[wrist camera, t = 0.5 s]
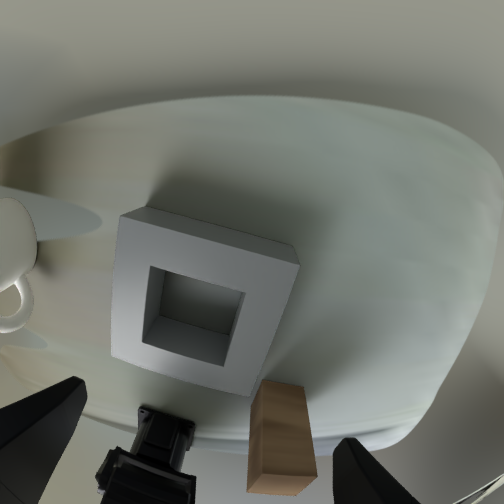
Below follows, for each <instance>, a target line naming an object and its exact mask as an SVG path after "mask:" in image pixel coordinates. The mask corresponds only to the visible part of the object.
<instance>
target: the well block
mask: <svg viewBox="0 0 504 504" xmlns="http://www.w3.org/2000/svg"><path fill="white" fill-rule="evenodd" d="M299 268H300V263H299V261H298V258H297V256H296V253H295V251H294V248H293V246H290V245H287V244H283V243H280V242H276V241H273V240H269V239H265V238H262V237H258V236H255V235H251V234H247V233H244V232H240V231H237V230H233V229H229V228H226V227H222V226H218V225H215V224H211V223H207V222H203V221H200V220H196V219H192V218H188V217H185V216H181V215H177V214H173V213H169V212H166V211H162V210H158V209H154V208H150V207H146V206H144V207H141V208H139V209H136V210H133V211H131V212H128V213H126V214H123V215H120V218H119V225H118V232H117V240H116V249H115V259H114V271H113V285H112V305H111V356H113V357H116V358H118V359H121V360H123V361H126V362H129V363H131V364H134V365H137V366H139V367H142V368H145V369H148V370H151V371H154V372H157V373H160V374H163V375H166V376H169V377H172V378H175V379H179V380H182V381H186V382H189V383H193V384H196V385H200V386H204V387H207V388H211V389H215V390H219V391H223V392H228V393H232V394H237V395H241V396H246V397H250V394H251V392H252V389H253V387H254V385H255V382H256V380H257V378H258V375H259V373H260V370H261V368H262V365H263V363H264V361H265V358H266V356H267V353H268V351H269V348H270V346H271V343H272V340H273V338H274V335H275V333H276V330H277V328H278V325H279V322H280V320H281V317H282V314H283V312H284V309H285V306H286V304H287V301H288V298H289V296H290V293H291V290H292V287H293V285H294V282H295V279H296V276H297V273H298V271H299ZM166 270H167V271H170V272H174V273H177V274H180V275H184V276H187V277H191V278H194V279H198V280H201V281H205V282H208V283H212V284H215V285H219V286H223V287H226V288H230V289H234V290H237V291H241V292H242V294H241V298H240V301H239V305H238V308H237V311H236V315H235V318H234V322H233V325H232V328H231V332H230V335H225V334H221V333H218V332H214V331H210V330H207V329H203V328H199V327H196V326H193V325H189V324H186V323H182V322H179V321H176V320H173V319H169V318H166V317H163V316H160V315H159V310H160V303H161V296H162V290H163V283H164V277H165V271H166Z"/></svg>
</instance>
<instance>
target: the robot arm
mask: <svg viewBox="0 0 504 504" xmlns="http://www.w3.org/2000/svg"><path fill="white" fill-rule="evenodd" d="M86 401H87V391H86V385H85V381H84V380H83V379H80V378H78V377H76V376H72V377H70V378H68V379H66V380H63V381H61V382H59V383H57V384H55V385H53V386H50V387H48V388H46V389H44V390H42V391H39V392H37V393H35V394H33V395H30V396H28V397H26V398H24V399H22V400H19V401H17V402H15V403H12V404H10V405H8V406H5V407H3V408H1V409H0V504H38V502H39V500H40V498H41V496H42V494H43V492H44V489H45V487H46V485H47V483H48V481H49V479H50V477H51V475H52V473H53V471H54V469H55V467H56V465H57V463H58V461H59V460H60V458H61V456H62V454H63V452H64V450H65V448H66V446H67V445H68V443H69V441H70V439H71V437H72V435H73V433H74V431H75V428H76V426H77V423H78V421H79V418H80V416H81V413H82V411H83V409H84V406H85V404H86ZM195 426H196V424H195V423H193V422H190V421H187V420H183V419H179V418H176V417H173V416H169V415H166V414H163V413H160V412H157V411H154V410H151V409H148V408H145V407H142V406H141V407H139V409H138V432H137V435H136V437H135V440H134V442H133V445H132V447H131V450H130V452H127V451H125V450H123V449H121V448H120V447H118V446H117V447H116V449H114V450H111V449H110V450H109V452H108V454H107V457H106V459H105V460H104V462H103V464H102V465H101V467H100V468H99V470H98V472H97V473H96V476H95V478H96V480H97V482H98V493H99V494H101V495H103V498H102V501H101V503H100V504H195V493H196V476H193V475H188V474H185V473H181V468H182V464H183V459H184V455H185V452H186V451H189V449H190V445H191V442H192V438H193V434H194V430H195ZM333 496H334V504H421V503H419V502H418V501H417V500H416V499H415V498H414V497H412V495H411V494H410V493H409V492H408V491H407V490H406V489H405V488H404V487H403V486H402V485H401V484H400V483H399V482H398V481H397V480H396V479H395V478H394V477H393V476H392V475H391V474H390V473H389V472H388V471H387V470H386V469H385V468H384V467H383V466H382V465H381V464H380V463H379V462H378V461H377V460H376V459H375V458H374V457H373V456H372V455H371V454H370V453H369V452H368V451H367V450H366V448H365V447H364V446H363V445H362V444H361V443H360V442H359V441H358V440H357V439H356V438H353V437H346V438H344V439H342V441H341V442H340V443H339V444H338V446H337V447H336V448H335V449H334V452H333Z"/></svg>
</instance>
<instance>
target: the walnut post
mask: <svg viewBox="0 0 504 504" xmlns="http://www.w3.org/2000/svg"><path fill="white" fill-rule="evenodd" d="M316 478H317V469H316V462H315V454H314V448H313V441H312V435H311V428H310V422H309V416H308V409H307V403H306V397H305V391H304V387H301V386H295V385H288V384H283V383H277V382H272V381H267V380H262V382H261V385H260V387H259V389H258V391H257V394H256V396H255V398H254V400H253V403H252V405H251V413H250V434H249V454H248V476H247V492H248V493H258V494H269V495H286V496H296V495H297V494H298V493H300V492H301V491H302V490H303V489H304V488H306V487H307V486H308V485H309V484H310V483H311V482H312V481H313V480H314V479H316Z"/></svg>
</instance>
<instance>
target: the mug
mask: <svg viewBox="0 0 504 504" xmlns="http://www.w3.org/2000/svg"><path fill="white" fill-rule="evenodd" d="M36 255H37V239H36V233H35V229H34V225H33V222H32V219H31V217H30V215H29V213H28V211H27V210H26V209H25V207H24V206H23V205H22V204H21V203H20V202H19V201H17V200H15V199H13V198H2V199H0V292H1V291H3V290H4V289H6V288H8V287H9V286H11V285H12V284H15V285H16V286H17V288H18V290H19V292H20V294H21V299H22V302H21V306H20V308H19V310H18V311H17V312H16V313H15V314H13V315H11V316H7V317H2V316H0V332H1V333H9V332H13V331H15V330H17V329H19V328H21V327H22V326H23V325H24V324H25V323H26V322H27V321H28V319H29V318H30V316H31V313H32V310H33V305H34V298H33V292H32V289H31V286H30V284H29V281H28V279H27V278H26V275H27V274H29V272H30V271H31V270H32V268H33V266H34V264H35V260H36Z"/></svg>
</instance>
